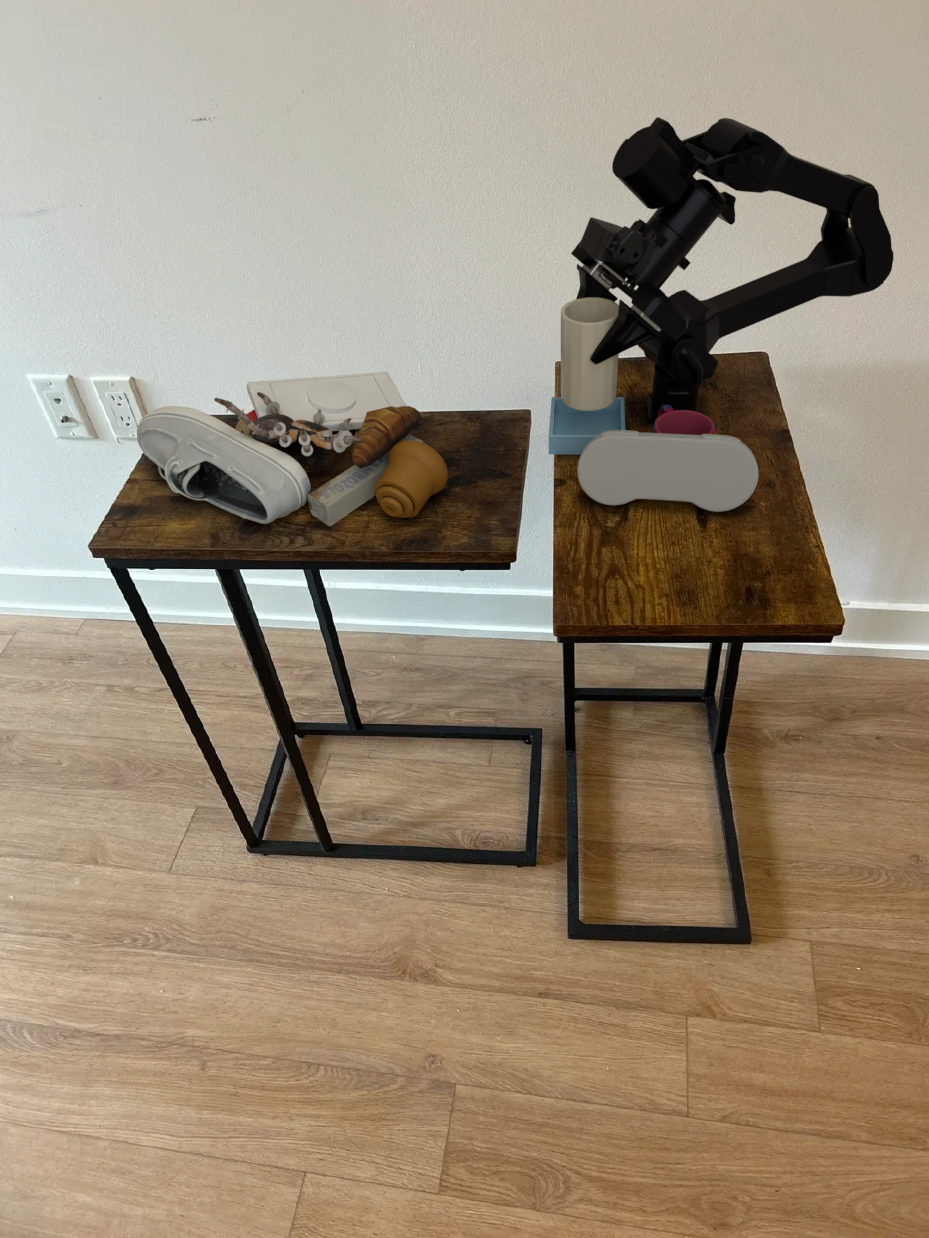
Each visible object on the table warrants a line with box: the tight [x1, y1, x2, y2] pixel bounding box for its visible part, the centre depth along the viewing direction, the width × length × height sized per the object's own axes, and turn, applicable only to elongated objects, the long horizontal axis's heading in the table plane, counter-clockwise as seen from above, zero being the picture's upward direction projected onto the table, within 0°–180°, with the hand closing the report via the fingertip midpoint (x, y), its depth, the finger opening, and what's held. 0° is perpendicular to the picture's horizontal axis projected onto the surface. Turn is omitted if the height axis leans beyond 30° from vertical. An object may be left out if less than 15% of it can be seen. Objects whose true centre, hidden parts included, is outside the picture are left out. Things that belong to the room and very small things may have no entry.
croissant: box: [352, 405, 422, 469], centre depth 103 cm, size 14×7×5 cm
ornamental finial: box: [374, 440, 449, 519], centre depth 101 cm, size 8×8×8 cm
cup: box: [652, 405, 716, 435], centre depth 103 cm, size 7×10×7 cm
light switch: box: [246, 371, 407, 432], centre depth 115 cm, size 11×2×19 cm
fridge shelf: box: [548, 396, 626, 455], centre depth 111 cm, size 9×9×3 cm
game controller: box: [576, 429, 759, 513], centre depth 98 cm, size 20×2×8 cm, turn 79°
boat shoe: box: [136, 405, 312, 525], centre depth 104 cm, size 25×9×8 cm
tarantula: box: [214, 392, 361, 457], centre depth 105 cm, size 16×17×5 cm
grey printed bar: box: [307, 433, 424, 527], centre depth 105 cm, size 4×16×5 cm
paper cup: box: [560, 297, 620, 411], centre depth 104 cm, size 7×7×11 cm
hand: (579, 348), depth 103 cm, fingers closed on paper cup, 7 cm apart
